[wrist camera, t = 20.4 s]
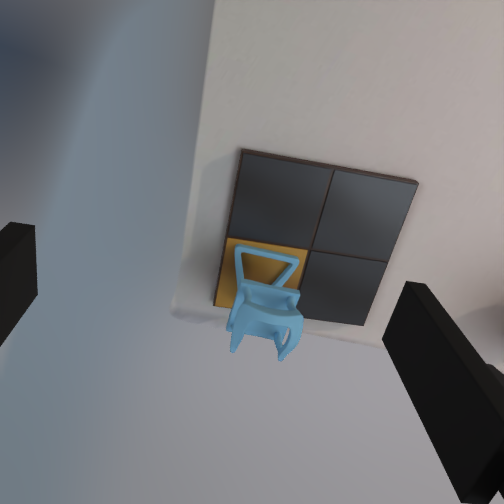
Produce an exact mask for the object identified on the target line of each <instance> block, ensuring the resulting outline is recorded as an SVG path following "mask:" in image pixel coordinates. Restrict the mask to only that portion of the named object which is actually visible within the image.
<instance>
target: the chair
mask: <svg viewBox="0 0 504 504" xmlns="http://www.w3.org/2000/svg"><path fill="white" fill-rule="evenodd" d="M241 252H245V253H249V254H253V255H258V256H262V257H267V258H271V259H275V260H280V261H284V262H288V263H290V264H289V265H288V267H287V268H286V269H285V270H284V271H283V272H282V273H281V274H280V276H279V277H278V278H277V279H276V280H275V281H274V282H273V284H272V285H268V284H264V283H260V282H256V281H253V280H248V279H244V275H243V267H242V260H241ZM234 255H235V268H236V278H237V289H238V290H237V293H236V297H235V300H234V303H233V306H232V309H231V312H230V315H229V319H228V323H227V326H226V331H229V332H232V336H231V345H230V352H232V353H234V352H235V351H236V349H237V347H238V345H239V344H240V342H241V340H242V338H243V336H244V334H247V335H253V336H258V337H263V338H267V339H271V340H274V342H275V345H276V348H277V350H278V360H279V361H282V360H284V358H285V357H286V356H287V354H289V353H290V352H291V351H292V350H293V349H294V348H295V347H296V345H297V344H298V342H299V340H300V337H301V333H302V329H303V321H304V318H303V316H302V314H301V313H300V312H299V311H298V310H297V309H296V305H297V302H298V300H299V297H300V291H299V290H296V289H291V288H285V287H282V286H283V285H284V283H285V282H286V281H287V280H288V278H289V277H290V276H291V275H292V273H293V272H294V271H295V269H296V268H297V266H298V265H299V259H298V257H297V256H293V255H289V254H284V253H280V252H275V251H271V250H266V249H261V248H257V247H252V246H248V245H243V244H236V246H235V254H234ZM287 328H290V331H289V335H288V338H287V340H286V342H285V344H284V345H282V341H283V339H284V336H285V333H286V331H287Z"/></svg>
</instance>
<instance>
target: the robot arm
mask: <svg viewBox="0 0 504 504" xmlns="http://www.w3.org/2000/svg"><path fill="white" fill-rule="evenodd" d="M35 242H36V241H35V225H29V224H22V223H16V222H10V223H8V225H6V226H5V227H4V228H3V229H2V230H1V231H0V346H1V345H2V344H3V342H4V341H5V340H6V338H7V337H8V335H9V334H10V333H11V331H12V330H13V328H14V327H15V325H16V324H17V323H18V321H19V320H20V318H21V317H22V315H23V314H24V313H25V312H26V310H27V309H28V307H29V306H30V305H31V303H32V302H33V300H34V299H35V297H36V296H37V295H38V289H37V265H36V243H35ZM382 341H383V343H384V345H385V347H386V349H387V351H388V353H389V355H390V357H391V359H392V361H393V363H394V365H395V368H396V370H397V371H398V374H399V376H400V378H401V380H402V382H403V384H404V386H405V388H406V390H407V392H408V394H409V396H410V398H411V401H412V403H413V405H414V407H415V409H416V411H417V413H418V415H419V417H420V419H421V421H422V423H423V425H424V427H425V429H426V432H427V434H428V435H429V438H430V440H431V442H432V444H433V446H434V448H435V450H436V452H437V454H438V456H439V458H440V460H441V463H442V464H443V466H444V469H445V471H446V473H447V475H448V477H449V479H450V481H451V483H452V485H453V487H454V489H455V491H456V493H457V496H458V498H459V500H460V502H461V503H468V504H489V503H490V501H491V500H492V498H493V497H494V496H495V494H496V493H497V491H498V490H499V492H500V493H501V495H502V497H503V499H504V374H502V373H501V372H500V371H499V370H498V369H496V368H495V367H494V366H493V365H491V364H486V363H485V362H484V361H483V359H482V358H481V357H480V355H479V354H478V353H477V351H476V350H475V349H474V347H473V346H472V345H471V343H470V342H469V341H468V339H467V338H466V337H465V335H464V334H463V333H462V331H461V330H460V329H459V327H458V326H457V325H456V324H455V322H454V321H453V320H452V318H451V317H450V316H449V314H448V313H447V312H446V310H445V309H444V308H443V306H442V305H441V304H440V302H439V301H438V300H437V298H436V297H435V296H434V294H433V293H432V292H431V290H430V289H429V288H428V287H427V285H426V284H423V283H417V282H410V281H406V283H405V285H404V287H403V290H402V292H401V295H400V297H399V299H398V302H397V304H396V306H395V309H394V311H393V314H392V316H391V318H390V321H389V323H388V325H387V328H386V330H385V333H384V335H383V337H382Z"/></svg>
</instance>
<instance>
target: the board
mask: <svg viewBox="0 0 504 504" xmlns="http://www.w3.org/2000/svg"><path fill="white" fill-rule="evenodd" d="M418 185H419V183H418V182H417V181H416V180H411V179H406V178H400V177H395V176H390V175H384V174H379V173H373V172H368V171H362V170H357V169H351V168H346V167H340V166H335V165H329V164H324V163H318V162H313V161H308V160H302V159H297V158H291V157H286V156H280V155H275V154H269V153H264V152H258V151H253V150H247V149H242V150H241V155H240V160H239V166H238V171H237V177H236V182H235V188H234V193H233V198H232V204H231V209H230V215H229V220H228V226H227V231H226V236H225V242H224V247H223V253H222V258H221V264H220V269H219V274H218V280H217V285H216V291H215V296H214V302H213V306H217V307H225V308H232V306H233V303H234V300H235V297H236V293H237V290H238V289H237V278H236V268H235V255H234V254H235V246H236V244H243V245H248V246H252V247H257V248H261V249H266V250H271V251H275V252H280V253H284V254H289V255H293V256H297V257H298V259H299V265H298V266H297V268H296V269H295V271H294V272H293V273H292V275H291V276H290V277H289V278H288V280H287V281H286V282H285V283H284V285H283V286H282V287H285V288H291V289H296V290H299V291H300V297H299V300H298V302H297V305H296V309H297V310H298V311H299V312H300V313H301V314H302V316H303V318H307V319H314V320H322V321H329V322H337V323H344V324H352V325H359V326H364V323H365V321H366V318H367V316H368V313H369V311H370V308H371V305H372V303H373V300H374V298H375V295H376V293H377V290H378V287H379V285H380V282H381V280H382V277H383V275H384V272H385V269H386V267H387V264H388V262H389V259H390V257H391V254H392V251H393V249H394V246H395V244H396V241H397V239H398V236H399V233H400V231H401V228H402V226H403V223H404V221H405V218H406V215H407V213H408V210H409V208H410V205H411V203H412V200H413V197H414V195H415V192H416V190H417V187H418ZM241 260H242V267H243V275H244V279H248V280H253V281H256V282H260V283H264V284H268V285H272V284H273V282H274V281H275V280H276V279H277V278H278V277H279V276H280V274H281V273H282V272H283V271H284V270H285V269H286V268H287V267H288V265H289V264H290V263H288V262H284V261H280V260H275V259H271V258H267V257H262V256H258V255H253V254H249V253H245V252H241Z"/></svg>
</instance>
